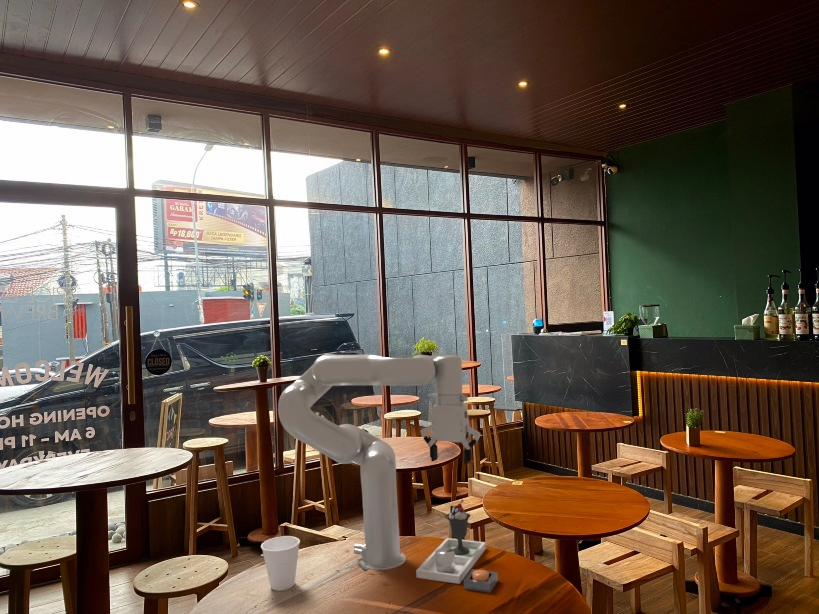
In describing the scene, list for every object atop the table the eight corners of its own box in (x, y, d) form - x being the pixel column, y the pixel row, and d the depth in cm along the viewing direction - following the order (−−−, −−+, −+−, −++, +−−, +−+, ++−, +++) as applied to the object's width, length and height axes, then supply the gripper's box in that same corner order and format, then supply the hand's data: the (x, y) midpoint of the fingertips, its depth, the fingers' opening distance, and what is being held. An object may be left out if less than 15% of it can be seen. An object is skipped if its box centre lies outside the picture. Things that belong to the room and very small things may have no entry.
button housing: (464, 592, 144) (463, 580, 144) (472, 580, 150) (472, 569, 150) (490, 596, 141) (489, 584, 141) (498, 584, 147) (497, 572, 147)
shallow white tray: (416, 581, 151) (416, 570, 151) (447, 547, 172) (446, 537, 172) (459, 587, 146) (459, 576, 146) (485, 552, 167) (485, 542, 167)
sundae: (471, 556, 162) (468, 502, 161) (447, 556, 163) (443, 502, 162) (473, 546, 168) (470, 494, 167) (450, 545, 169) (446, 494, 169)
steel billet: (433, 573, 153) (432, 554, 153) (440, 565, 157) (439, 546, 157) (451, 576, 151) (450, 556, 151) (458, 568, 155) (457, 549, 155)
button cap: (470, 585, 144) (470, 575, 144) (475, 578, 148) (475, 568, 148) (486, 587, 143) (485, 577, 143) (491, 580, 146) (490, 570, 146)
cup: (288, 573, 160) (286, 533, 160) (309, 584, 152) (307, 541, 153) (255, 587, 153) (253, 544, 153) (276, 599, 146) (274, 554, 146)
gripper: (483, 399, 164) (484, 460, 164) (425, 396, 171) (426, 456, 171) (474, 403, 157) (476, 467, 157) (415, 400, 164) (416, 462, 164)
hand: (450, 461), depth 164 cm, fingers open, 9 cm apart
